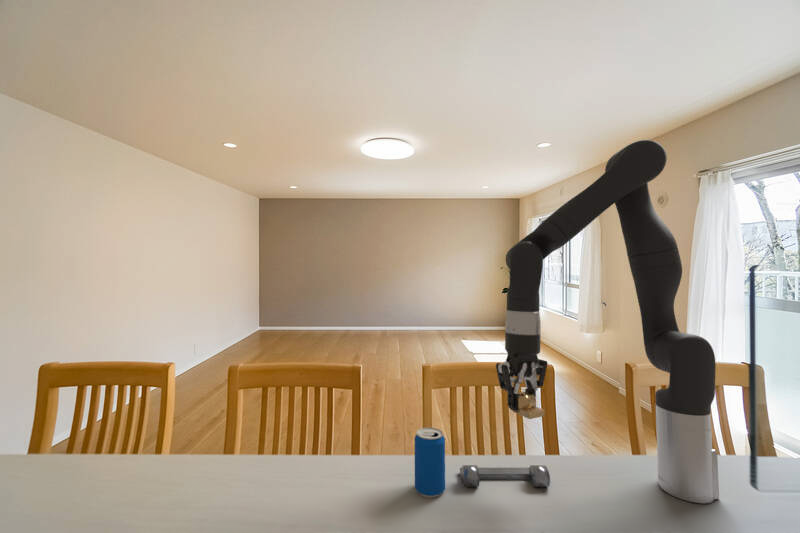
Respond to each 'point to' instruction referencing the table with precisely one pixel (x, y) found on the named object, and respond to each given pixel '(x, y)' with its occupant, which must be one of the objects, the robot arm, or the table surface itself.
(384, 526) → the table surface
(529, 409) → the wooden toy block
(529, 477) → the grey metal dumbbell
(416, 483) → the beverage can
